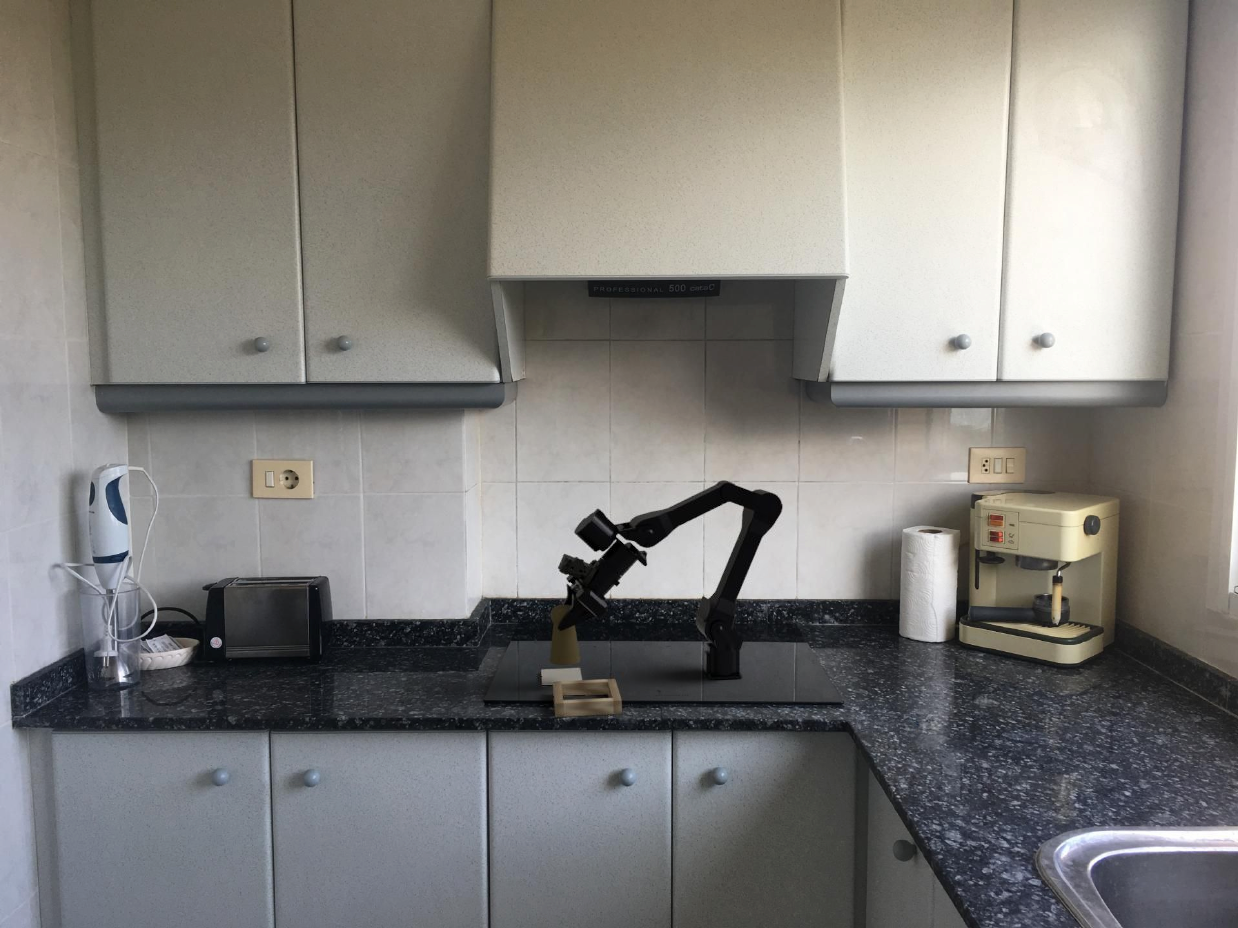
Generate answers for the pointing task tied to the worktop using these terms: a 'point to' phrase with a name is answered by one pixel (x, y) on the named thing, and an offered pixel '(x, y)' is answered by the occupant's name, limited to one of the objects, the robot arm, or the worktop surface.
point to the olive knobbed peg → (563, 640)
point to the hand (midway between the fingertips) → (557, 625)
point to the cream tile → (560, 675)
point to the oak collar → (587, 705)
